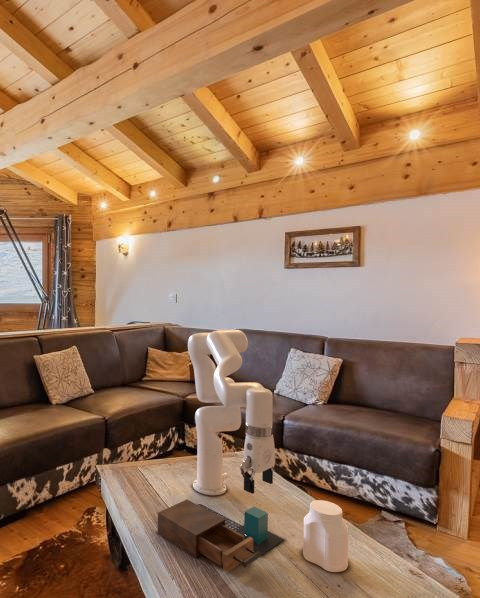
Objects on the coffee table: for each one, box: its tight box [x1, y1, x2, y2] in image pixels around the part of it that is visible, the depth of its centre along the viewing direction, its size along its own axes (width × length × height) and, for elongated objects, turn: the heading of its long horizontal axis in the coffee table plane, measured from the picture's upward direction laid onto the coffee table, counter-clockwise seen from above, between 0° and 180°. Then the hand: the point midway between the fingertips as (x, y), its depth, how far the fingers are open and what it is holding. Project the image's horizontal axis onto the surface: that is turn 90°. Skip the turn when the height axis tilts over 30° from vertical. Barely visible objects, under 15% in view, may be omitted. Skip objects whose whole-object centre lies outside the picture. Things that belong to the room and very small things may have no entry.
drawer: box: [198, 524, 262, 573], centre depth 122 cm, size 19×12×5 cm, turn 38°
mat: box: [235, 525, 285, 557], centre depth 131 cm, size 12×12×1 cm
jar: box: [302, 499, 350, 573], centre depth 121 cm, size 12×10×15 cm
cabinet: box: [157, 498, 226, 559], centre depth 132 cm, size 16×14×7 cm
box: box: [243, 506, 269, 544], centre depth 131 cm, size 5×5×8 cm
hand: (258, 486), depth 127 cm, fingers open, 9 cm apart
